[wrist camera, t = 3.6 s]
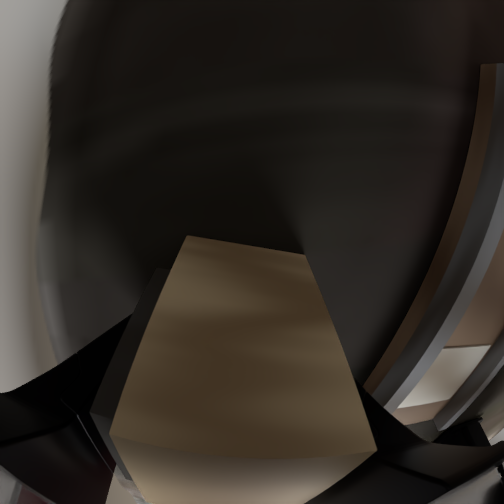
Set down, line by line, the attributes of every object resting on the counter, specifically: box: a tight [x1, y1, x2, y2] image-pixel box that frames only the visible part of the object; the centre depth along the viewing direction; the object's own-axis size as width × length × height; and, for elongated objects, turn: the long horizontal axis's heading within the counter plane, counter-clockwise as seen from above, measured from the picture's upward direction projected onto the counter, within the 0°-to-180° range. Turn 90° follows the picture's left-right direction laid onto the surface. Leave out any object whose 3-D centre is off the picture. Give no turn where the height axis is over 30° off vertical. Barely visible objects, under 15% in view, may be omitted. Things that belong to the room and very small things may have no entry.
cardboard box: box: [90, 235, 377, 504], centre depth 7 cm, size 5×5×7 cm
